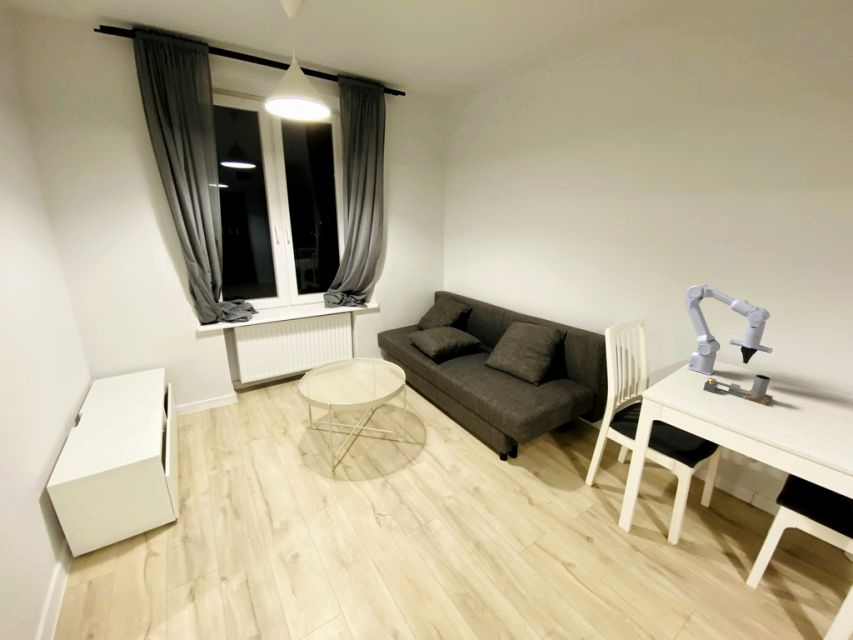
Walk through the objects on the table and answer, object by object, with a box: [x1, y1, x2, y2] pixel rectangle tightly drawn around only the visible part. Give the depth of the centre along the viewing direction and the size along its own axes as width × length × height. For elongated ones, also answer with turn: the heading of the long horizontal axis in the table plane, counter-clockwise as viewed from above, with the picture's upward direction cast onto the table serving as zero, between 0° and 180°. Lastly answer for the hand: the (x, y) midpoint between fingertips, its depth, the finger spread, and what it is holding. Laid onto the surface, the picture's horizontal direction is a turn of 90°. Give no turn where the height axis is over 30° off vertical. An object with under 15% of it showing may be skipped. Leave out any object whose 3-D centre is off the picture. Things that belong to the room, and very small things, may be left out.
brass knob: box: [707, 377, 718, 385], centre depth 158 cm, size 3×3×5 cm
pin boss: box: [703, 380, 719, 394], centre depth 158 cm, size 4×5×4 cm
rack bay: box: [743, 389, 774, 407], centre depth 151 cm, size 7×8×2 cm
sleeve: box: [715, 381, 745, 399], centre depth 159 cm, size 14×8×1 cm, turn 37°
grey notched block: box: [727, 382, 751, 398], centre depth 156 cm, size 7×4×3 cm, turn 39°
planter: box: [750, 374, 771, 401], centre depth 150 cm, size 4×4×10 cm
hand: (745, 362), depth 163 cm, fingers closed
